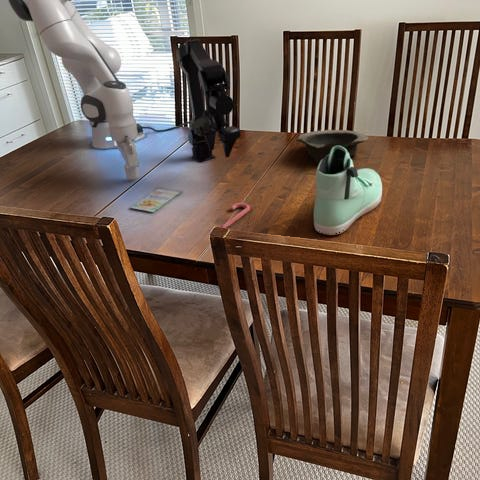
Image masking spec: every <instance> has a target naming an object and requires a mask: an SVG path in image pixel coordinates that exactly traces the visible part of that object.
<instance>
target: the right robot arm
mask: <svg viewBox="0 0 480 480" xmlns="http://www.w3.org/2000/svg"><path fill="white" fill-rule="evenodd" d="M175 57H176V62H177V63H178V65H179V68H180V69H181V70H182V72H183V73H184V74H185V78H186V83H187V90H188V96H189V102H190V107H191V113H192V117H191V120H190V121H191V123H189V131H188V137H187V138H188V143H189V144H190V146H192V147H191V152H192V155H191V158H192V159H194V160H196V161H198V162H200V163H203V162H205V161H209V160H211V159H214V158H216V156H215V155H214V154H213V151H214V149H215V145H216V144H215V143H216V136H217V132H218V138H219V139H218V141H219V142H221V143H222V146H223V147H222V148H223V152H224V156H225V158H229V157H230V155H231V154H232V150H233V148H234V146H235V143H236V142H237V140H238V139H239V138H241V137H242V131H241V129H240V128H239V127H235V126H234V125H230V126H229V122H228V121H227V120H226V116H227V115H229V114H230V113H232V111H233V109H234V106H235V102H234V100H233V98H232V97H231V96H229V95H228V94H227V90H230V83H231V82H230V79H229V77H228V76H229V75H228V73H227V71H226V70H225V68H224V66H223V65H222V64H221V63H220V62H219V61H218V60H214V59H212V57H210V55H209V53H208V52H207V50H206V49H205V47H204V46H203V43H202V40H201V39H198V38H197V39H189V40H187V41H184V43H183V44H182V45H180V46H179V47H177V49H176V51H175ZM202 90H203V92H204V96H203V92H202ZM203 97H204V98H203ZM204 102H205V105H204Z"/></svg>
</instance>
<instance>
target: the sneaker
mask: <svg viewBox="0 0 480 480" xmlns="http://www.w3.org/2000/svg"><path fill="white" fill-rule="evenodd" d="M317 165H318V166H317V168H316V172H315V201H314V207H313V225H314V229H315V231H316V232H318V233H320V234H323V235H326V236H327V235H328V236H336V235H339V234H342V233H344V232H345V231H347V230H348V229H349V228H350V227H351V226H352V225H353V224H354V222H356V221H357V220H358V219H359V218H360V217H362V216H363V215H365V214H367V213H370V212H372V210H374V209H375V208H377V207H378V205H380V203H381V200H382V196H383V184H382V183H383V182H382V179H381V176H380V175H379V173H378V172H377V171H376V170H374V169H372V168H367V167H365V168H358V169H357V168H355V167H354V161H353V158H350V156H349V153H348V152H347V150H346V149H345V148H344V147H342V146H334V147H333V148H332V149H331V152H330V154H329V155H327V156H326V157H325V158H324V159H322V160H321V161H320V163H319V164H317ZM343 230H344V231H343ZM319 231H320V232H319ZM322 232H323V233H322ZM339 232H340V233H339ZM326 233H327V234H326ZM328 233H329V234H328ZM335 233H337V234H335Z"/></svg>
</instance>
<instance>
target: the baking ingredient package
mask: <svg viewBox="0 0 480 480" xmlns="http://www.w3.org/2000/svg"><path fill="white" fill-rule="evenodd" d="M180 192H181V191H177V190H176V191H175V190H169V189H164V188H163V189H162V188H156V189H155V190H153V191H152V192H150V193H148V194H147V195H146V196H145V197H144V198H142V199H140V200H139V201H138V202H136V203H134V204H133V205H132V206H130V209H135V210H140V211H145V212H151V213H155V212H157V210H159V209H160V208H161V207H163V206H164V205H165V204H167V203H168V202H169V201H170V200H172V199H174V198H175V197H176V196H177V195H179V194H180Z"/></svg>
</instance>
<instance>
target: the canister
mask: <svg viewBox="0 0 480 480" xmlns="http://www.w3.org/2000/svg"><path fill="white" fill-rule="evenodd" d="M123 168H124V172H125V173H124V174H125V178H126V179H127V180H136V179H138V178H140V172H139V167H135V171H136V174H135V175H131V174H130V170H129V167H128V165H127V164H126V163H125V164H124V165H123Z"/></svg>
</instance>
